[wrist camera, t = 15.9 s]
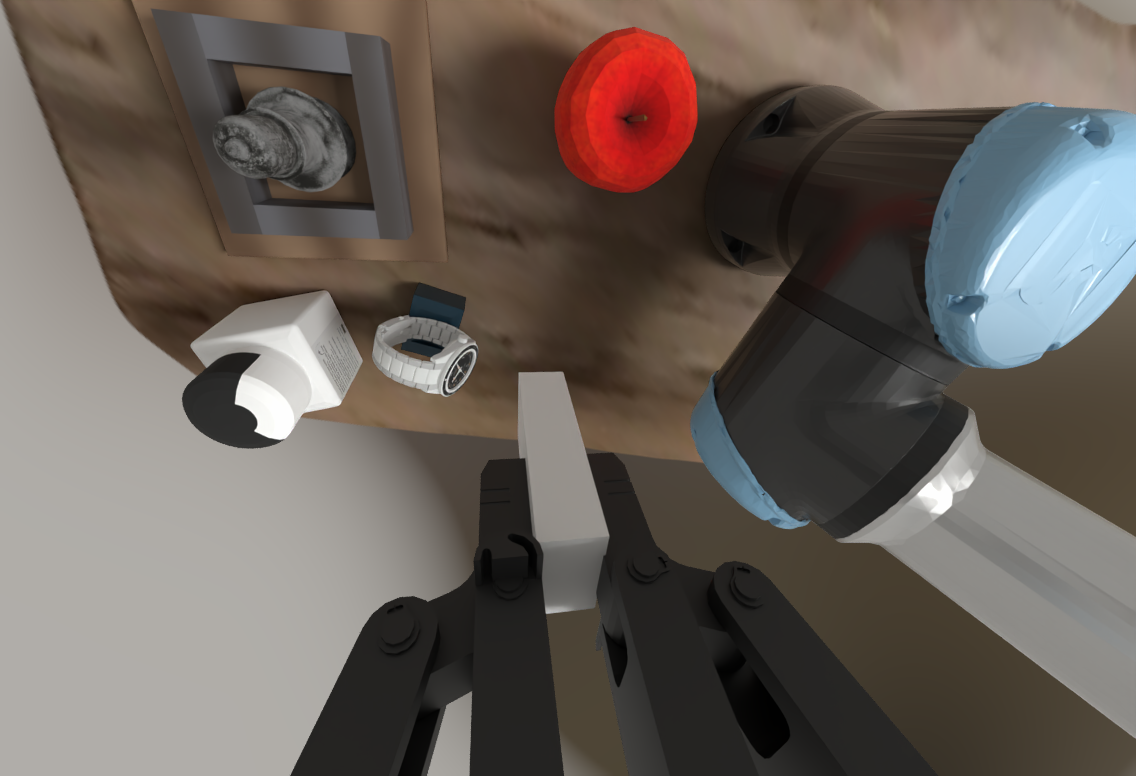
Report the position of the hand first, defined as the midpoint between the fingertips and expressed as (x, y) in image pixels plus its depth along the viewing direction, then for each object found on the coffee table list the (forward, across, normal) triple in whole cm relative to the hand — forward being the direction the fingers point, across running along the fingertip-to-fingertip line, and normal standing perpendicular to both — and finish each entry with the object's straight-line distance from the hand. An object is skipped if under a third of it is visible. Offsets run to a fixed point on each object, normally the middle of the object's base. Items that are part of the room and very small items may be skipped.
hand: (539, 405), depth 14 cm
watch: (+27, +7, +8) cm, 29 cm away
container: (+27, +19, +10) cm, 34 cm away
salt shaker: (+25, +14, -6) cm, 30 cm away
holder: (+26, +14, -6) cm, 30 cm away
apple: (+27, -7, -9) cm, 29 cm away
